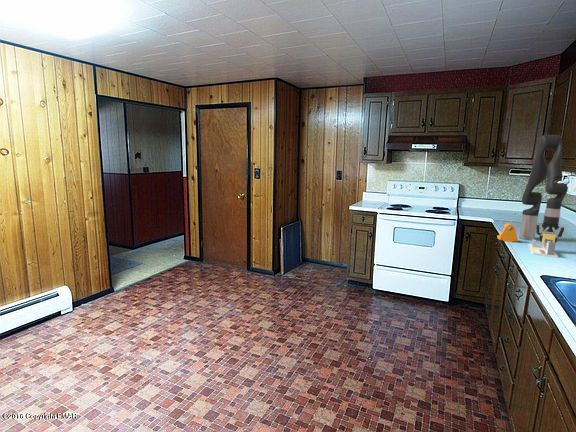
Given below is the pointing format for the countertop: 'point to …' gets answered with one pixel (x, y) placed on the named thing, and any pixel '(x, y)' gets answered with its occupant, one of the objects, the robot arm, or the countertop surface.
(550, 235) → the yellow block
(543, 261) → the countertop surface
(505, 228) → the bracket
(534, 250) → the rail plate
